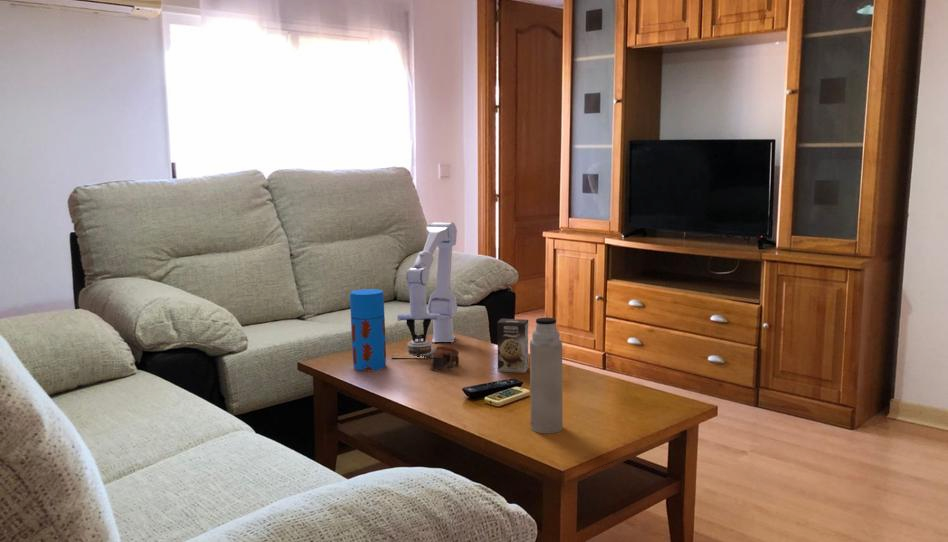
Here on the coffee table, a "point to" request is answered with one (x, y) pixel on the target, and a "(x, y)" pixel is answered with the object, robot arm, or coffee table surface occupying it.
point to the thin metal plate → (421, 350)
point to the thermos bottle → (546, 377)
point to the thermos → (368, 329)
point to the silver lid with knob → (419, 340)
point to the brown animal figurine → (444, 358)
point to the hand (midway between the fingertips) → (419, 340)
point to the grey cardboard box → (513, 345)
